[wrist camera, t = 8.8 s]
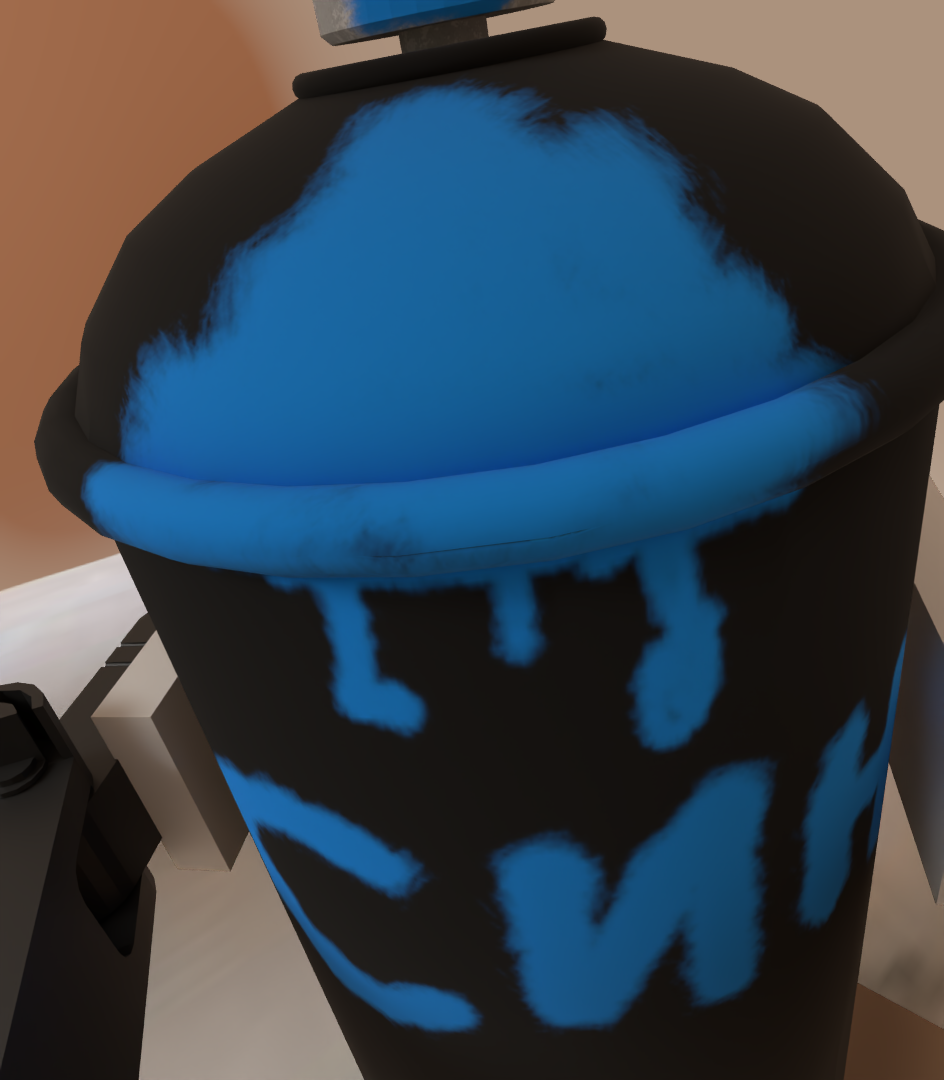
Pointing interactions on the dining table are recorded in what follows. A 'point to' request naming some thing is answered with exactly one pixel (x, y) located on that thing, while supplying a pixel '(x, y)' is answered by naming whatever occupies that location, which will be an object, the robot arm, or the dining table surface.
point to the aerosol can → (534, 535)
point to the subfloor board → (891, 1042)
